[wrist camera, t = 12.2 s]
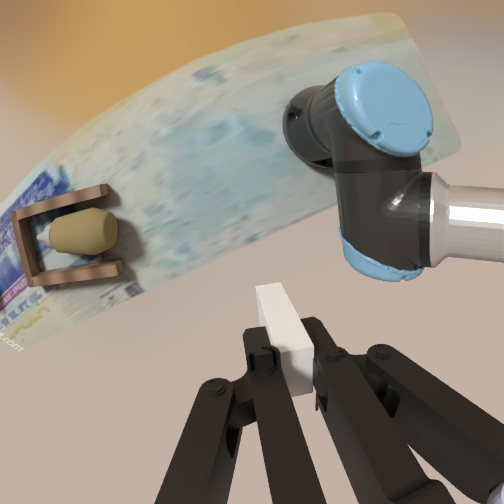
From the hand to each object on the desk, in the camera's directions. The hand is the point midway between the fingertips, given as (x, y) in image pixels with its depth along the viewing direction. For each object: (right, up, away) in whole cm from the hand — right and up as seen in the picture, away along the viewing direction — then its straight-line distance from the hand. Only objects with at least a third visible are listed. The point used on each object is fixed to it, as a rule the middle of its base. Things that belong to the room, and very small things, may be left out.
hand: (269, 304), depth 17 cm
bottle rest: (-37, +6, +28) cm, 46 cm away
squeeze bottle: (-24, +7, +25) cm, 35 cm away
